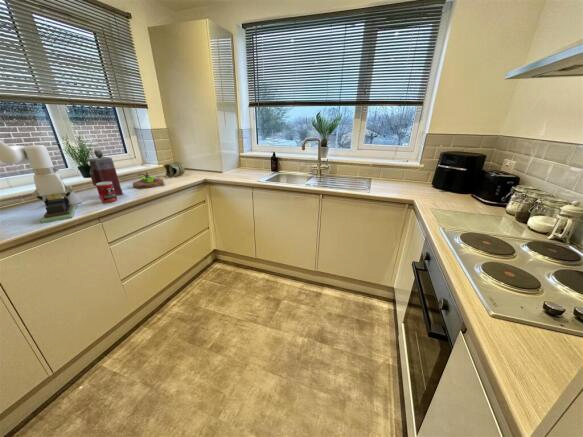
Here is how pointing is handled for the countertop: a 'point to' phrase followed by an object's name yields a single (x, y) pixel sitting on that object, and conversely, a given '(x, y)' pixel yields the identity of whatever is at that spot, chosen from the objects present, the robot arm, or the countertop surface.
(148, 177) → the plant
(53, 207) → the black square block
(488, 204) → the countertop surface
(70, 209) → the joiner board
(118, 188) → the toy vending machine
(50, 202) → the black pad
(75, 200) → the flask
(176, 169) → the piston
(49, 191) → the robot arm
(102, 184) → the canned food
